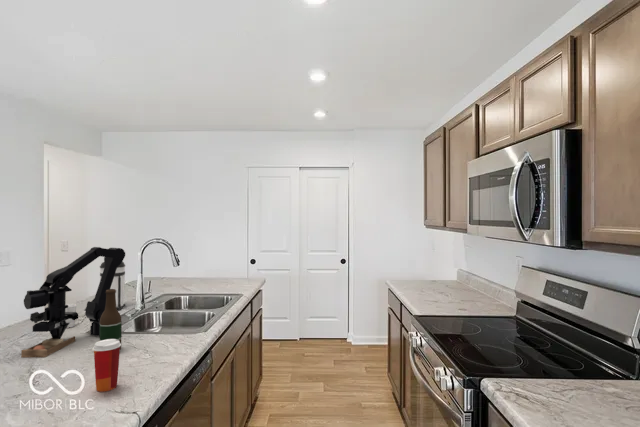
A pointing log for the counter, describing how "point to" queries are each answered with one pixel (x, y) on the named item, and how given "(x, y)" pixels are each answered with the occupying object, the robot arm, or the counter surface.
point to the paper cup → (106, 364)
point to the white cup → (70, 309)
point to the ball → (39, 347)
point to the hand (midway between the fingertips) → (56, 342)
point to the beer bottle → (110, 319)
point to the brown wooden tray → (45, 352)
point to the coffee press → (117, 283)
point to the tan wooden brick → (51, 343)
